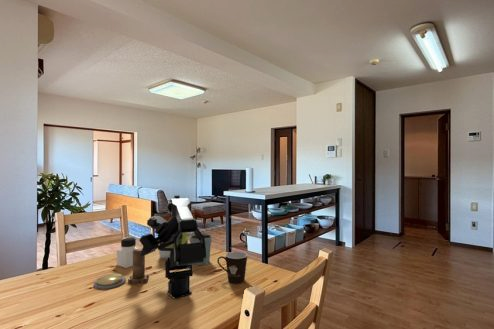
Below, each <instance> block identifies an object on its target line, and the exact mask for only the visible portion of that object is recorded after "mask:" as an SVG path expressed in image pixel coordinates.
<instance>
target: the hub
mask: <svg viewBox="0 0 494 329" xmlns="http://www.w3.org/2000/svg"><path fill="white" fill-rule="evenodd" d="M123 276H124V275H123V274H121V273H109V274H104V275H101V276H100V277H98V278H97V279H96V280H97V285H100V286H109V285H114V284H117V283H119V282H121V281H122V280H123Z"/></svg>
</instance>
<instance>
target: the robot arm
mask: <svg viewBox="0 0 494 329" xmlns="http://www.w3.org/2000/svg"><path fill="white" fill-rule="evenodd" d="M165 208H166V210H167V211H168V213H169V215H170V218H169V219H168V220H166V219H164V218H163V217H162V216H161V215H154V216H150V217H149V219H147V222H146V225H147V226H148V227H149V228H152V229H155V230H154V233H155V234H156V235H157V237H155V236H154V234H153V233H147V234H143V235H142V236H140V238H139V242H140V244H141V245H142V247H141V248H142V251H141V256H142V257H143V256H145V257H146V256H147V255H149V254H151V253H153V252H154V253H155V252H156V250H158V251H159V250H160V249H163V248H165V247H167V246H170V245H172V244H174V251H171V252H170V254H169V257H167V258H166V261H164V271H165V273H164V275H165V279H167V280H168V281H167V282H168V283H167V291H166V293H167V294H168V295H169V296H171V297H172V298H173V299H179V298H182V297H184V296H188V295H191V294H192V293H193V291H191V290H190V289H191V288H190V285H191V284H190V282H191V280H190V277H193V273H194V270H193V269H194V268H193V265H194V264H201V263H203V262H204V259H206V246H205V238H204V236H203V235H202V234H203V233H202V232H201V231H200V229H199V228H198V221H197V219H196V218H194V216H193V214H192V201H191V200H190V198H189V197H188V198H187V197H186V198H185V197H184V198H183V197H180V195H174V196H173V197H172V198H170V200H169V201H168V203H167V205H166V206H165ZM186 232H188V233H193V235H196V237H197V238H198V239H199V241H200V242H198V243H190V242H188V243H187V244H178V245H177V242H178V241H180V240H181V239H182V238H183V234H182V233H186ZM159 244H160V245H159Z"/></svg>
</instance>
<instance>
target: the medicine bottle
mask: <svg viewBox="0 0 494 329" xmlns="http://www.w3.org/2000/svg"><path fill="white" fill-rule="evenodd" d="M136 242H137V241H136V237H133V236H128V237H123V238H122V239H121V240H120V248H117V249H116V266H118V267H122V268H124V269H128V268H132V267H133V250H134V249H138V248H139V247H136V245H137V244H136Z"/></svg>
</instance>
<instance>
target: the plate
mask: <svg viewBox="0 0 494 329" xmlns="http://www.w3.org/2000/svg"><path fill="white" fill-rule="evenodd" d="M126 279H127V278H126V276H124V275H123V280H122V281H121V282H119V283H117V284H114V285H109V286H100V285H97V279H96V280H95V281H94V282H93V288H95V289H97V290H109V289H115V288H118V287H120V286H122V285H124V284H125V283H126V281H127V280H126Z"/></svg>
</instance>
